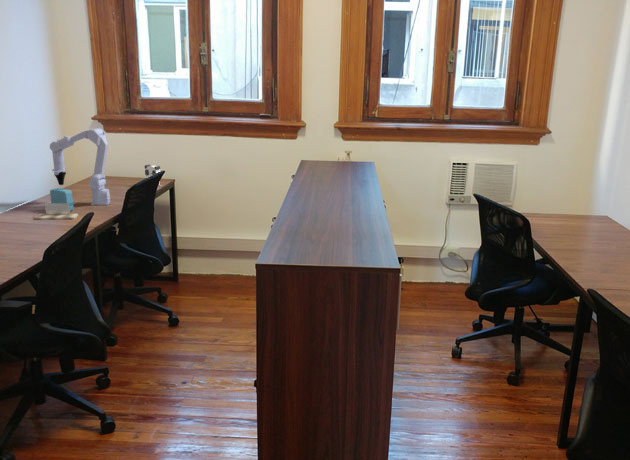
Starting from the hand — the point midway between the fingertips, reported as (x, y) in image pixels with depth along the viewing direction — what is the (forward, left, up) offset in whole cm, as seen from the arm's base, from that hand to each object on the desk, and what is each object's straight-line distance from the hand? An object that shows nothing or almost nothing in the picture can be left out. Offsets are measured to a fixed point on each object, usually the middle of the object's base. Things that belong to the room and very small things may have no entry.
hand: (61, 184), depth 330 cm
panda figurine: (-47, -40, -11) cm, 63 cm away
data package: (-6, +21, -11) cm, 24 cm away
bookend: (-7, +36, -10) cm, 38 cm away
